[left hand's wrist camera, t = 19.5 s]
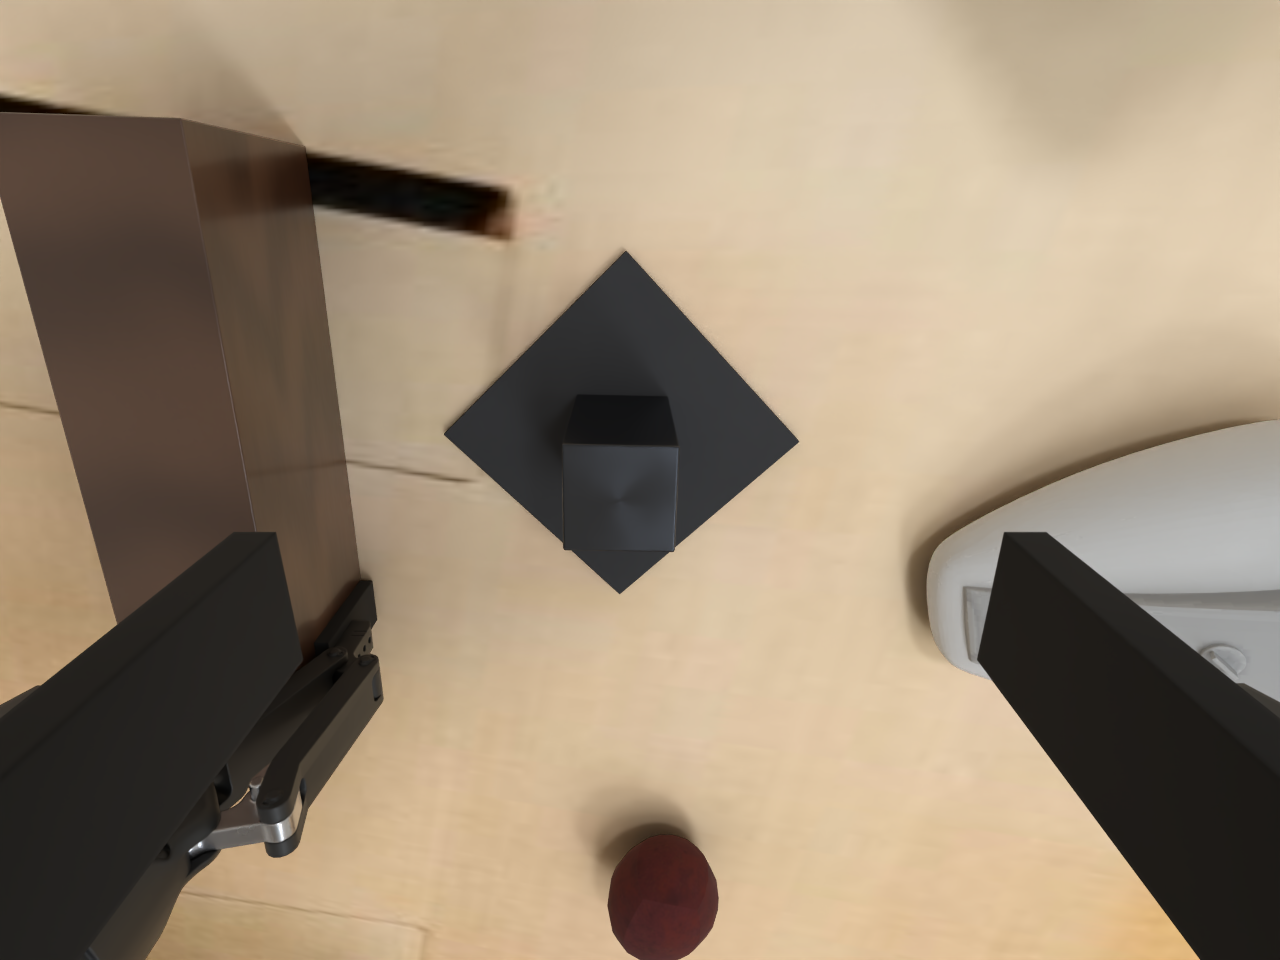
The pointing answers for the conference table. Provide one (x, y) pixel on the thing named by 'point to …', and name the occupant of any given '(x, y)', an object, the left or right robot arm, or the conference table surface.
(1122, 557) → the projector
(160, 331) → the walnut case
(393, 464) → the conference table surface
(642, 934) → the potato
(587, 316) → the rubber mat
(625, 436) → the metal block
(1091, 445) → the conference table surface
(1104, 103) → the conference table surface
